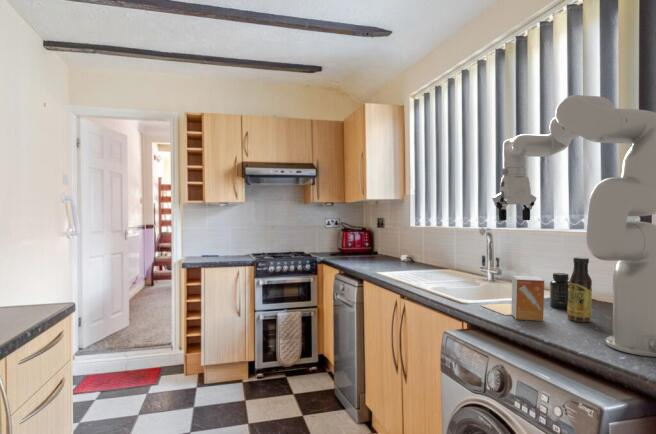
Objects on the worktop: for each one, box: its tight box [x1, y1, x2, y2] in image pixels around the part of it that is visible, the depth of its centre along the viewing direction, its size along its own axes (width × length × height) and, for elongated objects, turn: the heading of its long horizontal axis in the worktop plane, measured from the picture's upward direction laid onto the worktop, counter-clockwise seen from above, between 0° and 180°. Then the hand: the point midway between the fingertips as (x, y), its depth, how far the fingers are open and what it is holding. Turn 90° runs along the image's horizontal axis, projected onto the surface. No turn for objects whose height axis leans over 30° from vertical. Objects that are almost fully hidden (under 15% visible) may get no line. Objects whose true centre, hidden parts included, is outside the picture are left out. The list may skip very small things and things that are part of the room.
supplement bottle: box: [549, 272, 570, 310], centre depth 138 cm, size 7×7×12 cm
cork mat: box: [479, 303, 513, 317], centre depth 135 cm, size 14×12×1 cm
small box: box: [511, 275, 545, 322], centre depth 124 cm, size 8×6×13 cm
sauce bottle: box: [566, 256, 593, 323], centre depth 121 cm, size 7×6×20 cm
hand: (514, 220), depth 140 cm, fingers open, 9 cm apart
